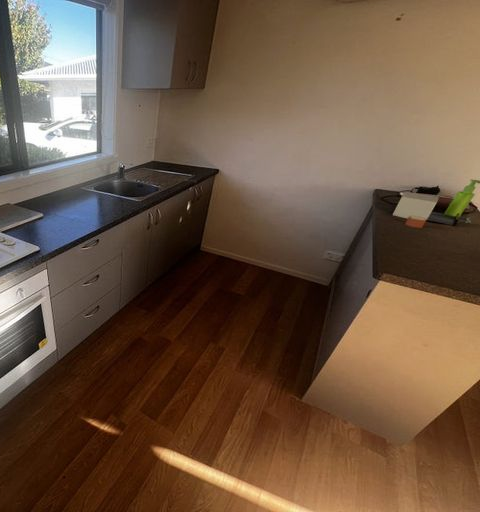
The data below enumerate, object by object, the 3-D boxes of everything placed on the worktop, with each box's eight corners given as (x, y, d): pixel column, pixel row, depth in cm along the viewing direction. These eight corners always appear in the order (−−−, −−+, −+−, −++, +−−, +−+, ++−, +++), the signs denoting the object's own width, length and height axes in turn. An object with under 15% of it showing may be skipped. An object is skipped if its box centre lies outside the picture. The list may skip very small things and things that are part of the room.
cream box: (427, 216, 159) (439, 196, 153) (425, 222, 151) (436, 202, 145) (396, 210, 167) (405, 191, 162) (391, 216, 159) (401, 196, 154)
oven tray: (468, 221, 149) (471, 215, 147) (467, 228, 141) (471, 222, 139) (423, 213, 160) (426, 207, 158) (420, 219, 152) (423, 213, 150)
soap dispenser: (450, 218, 156) (475, 181, 146) (440, 213, 161) (463, 178, 152) (463, 219, 154) (489, 182, 145) (453, 215, 160) (477, 179, 150)
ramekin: (412, 223, 150) (417, 215, 148) (425, 228, 144) (430, 220, 142) (400, 224, 150) (405, 215, 147) (413, 228, 144) (418, 220, 142)
